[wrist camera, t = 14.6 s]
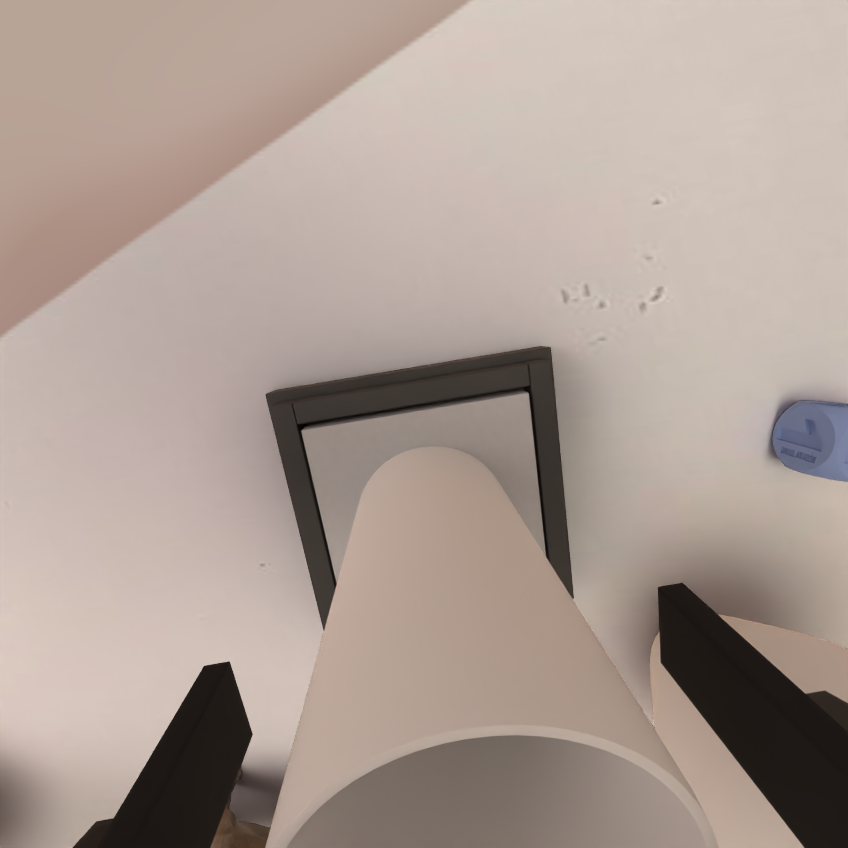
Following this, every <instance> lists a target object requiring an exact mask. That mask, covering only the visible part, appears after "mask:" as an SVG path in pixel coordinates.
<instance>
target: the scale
mask: <svg viewBox="0 0 848 848" xmlns="http://www.w3.org/2000/svg"><path fill="white" fill-rule="evenodd" d="M518 389H521V390H523V391H526V392H528V393H529V400H530V410H531V419H532V429H533V438H534V448H535V457H536V467H537V476H538V486H539V495H540V505H541V514H542V524H543V533H544V543H545V552H546V558H547V559H548V561H549V563H550V564H551V566H552V567H553V569H554V571H555V572H556V574H557V575H558V577H559V578H560V580H561V582H562V583H563V585H564V586H565V588H566V590H567V591H568V593H569V594H570V596H571V597H572V599H573V598H574V595H573V584H572V573H571V563H570V552H569V541H568V530H567V519H566V508H565V497H564V486H563V475H562V464H561V453H560V442H559V431H558V420H557V409H556V399H555V388H554V377H553V366H552V355H551V348H550V347H544V346H539V347H533V348H527V349H521V350H515V351H509V352H503V353H497V354H491V355H485V356H479V357H473V358H467V359H461V360H455V361H449V362H443V363H436V364H430V365H424V366H418V367H412V368H406V369H400V370H394V371H388V372H382V373H376V374H370V375H364V376H358V377H352V378H346V379H340V380H334V381H327V382H321V383H315V384H309V385H303V386H297V387H291V388H285V389H279V390H274V391H272V392H270V393H267V394H266V399H267V403H268V407H269V411H270V415H271V419H272V423H273V427H274V431H275V435H276V439H277V443H278V447H279V451H280V456H281V460H282V464H283V468H284V472H285V476H286V480H287V484H288V488H289V492H290V496H291V500H292V504H293V508H294V512H295V516H296V520H297V524H298V528H299V533H300V537H301V541H302V545H303V549H304V553H305V557H306V561H307V565H308V569H309V573H310V577H311V581H312V585H313V589H314V593H315V597H316V601H317V605H318V609H319V614H320V618H321V622H322V626H323V630H324V629H325V625H326V622H327V618H328V614H329V611H330V607H331V603H332V600H333V596H334V592H335V589H336V585H337V583H336V579H335V574H334V570H333V566H332V561H331V557H330V553H329V549H328V544H327V540H326V536H325V531H324V527H323V523H322V518H321V514H320V510H319V505H318V501H317V497H316V493H315V488H314V484H313V480H312V475H311V471H310V467H309V462H308V458H307V454H306V449H305V445H304V441H303V437H302V432H301V431H302V430H303V429H304V428H305V427H306V426H307V425H308V424H313V423H319V422H325V421H331V420H337V419H343V418H349V417H355V416H361V415H367V414H373V413H379V412H385V411H391V410H397V409H403V408H409V407H415V406H421V405H427V404H433V403H439V402H445V401H451V400H457V399H464V398H470V397H476V396H482V395H488V394H494V393H500V392H506V391H512V390H518Z"/></svg>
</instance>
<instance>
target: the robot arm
mask: <svg viewBox="0 0 848 848" xmlns="http://www.w3.org/2000/svg"><path fill="white" fill-rule="evenodd" d="M658 604H659V632H660V661H661V664H662V665H663V666H664V668H665V669H666V670H667V671H668V673H669V674H670V675H671V677H672V678H673V679H674V680H675V682H676V683H677V684H678V686H679V687H680V688H681V689H682V691H683V692H684V693H685V695H686V696H687V697H688V698H689V700H690V701H691V702H692V704H693V705H694V706H695V708H696V709H697V710H698V711H699V713H700V714H701V715H702V717H703V718H704V719H705V720H706V722H707V723H708V724H709V726H710V727H711V728H712V729H713V731H714V732H715V733H716V735H717V736H718V737H719V738H720V740H721V741H722V742H723V744H724V745H725V746H726V747H727V749H728V750H729V751H730V753H731V754H732V755H733V756H734V758H735V759H736V760H737V762H738V763H739V764H740V765H741V767H742V768H743V769H744V771H745V772H746V773H747V774H748V776H749V777H750V778H751V780H752V781H753V782H754V784H755V785H756V786H757V787H758V789H759V790H760V791H761V793H762V794H763V795H764V796H765V798H766V799H767V800H768V802H769V803H770V804H771V805H772V807H773V808H774V809H775V811H776V812H777V813H778V814H779V816H780V817H781V818H782V820H783V821H784V822H785V823H786V825H787V826H788V827H789V829H790V830H791V831H792V832H793V834H794V835H795V836H796V838H797V839H798V840H799V841H800V843H801V844H802V845H803V847H804V848H848V703H847V702H845V701H843V700H841V699H840V698H838V697H836V696H834V695H832V694H831V693H829V692H827V691H825V690H824V691H819V692H813V693H807V694H805V693H804V692H803V691H802V690H801V689H800V688H799V687H798V686H796V685H795V684H794V683H793V682H792V681H791V680H790V679H789V678H788V677H786V676H785V675H784V674H783V673H782V672H781V671H780V670H779V669H778V668H776V667H775V666H774V665H773V664H772V663H771V662H770V661H769V660H768V659H766V658H765V657H764V656H763V655H762V654H761V653H760V652H759V651H758V650H757V649H755V648H754V647H753V646H752V645H751V644H750V643H749V642H748V641H747V640H745V639H744V638H743V637H742V636H741V635H740V634H739V633H738V632H737V631H735V630H734V629H733V628H732V627H731V626H730V625H729V624H728V623H727V622H725V621H724V620H723V619H722V618H721V617H720V616H719V615H718V614H717V613H715V612H714V611H713V610H712V609H711V608H710V607H709V606H708V605H707V604H705V603H704V602H703V601H702V600H701V599H700V598H699V597H698V596H697V595H696V594H694V593H693V592H692V591H691V590H690V589H689V588H688V587H687V586H686V585H684V584H683V583H678V584H673V585H667V586H661V587H658ZM252 735H253V734H252V731H251V728H250V725H249V721H248V718H247V715H246V712H245V709H244V706H243V702H242V699H241V696H240V693H239V690H238V687H237V683H236V680H235V677H234V674H233V671H232V668H231V664H230V662H224V663H218V664H212V665H207V666H204V667H203V669H202V671H201V672H200V674H199V676H198V677H197V679H196V681H195V682H194V684H193V686H192V687H191V689H190V691H189V692H188V694H187V696H186V697H185V699H184V701H183V703H182V704H181V706H180V708H179V709H178V711H177V713H176V714H175V716H174V718H173V719H172V721H171V723H170V724H169V726H168V728H167V730H166V731H165V733H164V735H163V736H162V738H161V740H160V741H159V743H158V745H157V746H156V748H155V750H154V751H153V753H152V755H151V757H150V758H149V760H148V762H147V763H146V765H145V767H144V768H143V770H142V772H141V773H140V775H139V777H138V778H137V780H136V782H135V784H134V785H133V787H132V789H131V790H130V792H129V794H128V795H127V797H126V799H125V800H124V802H123V804H122V805H121V807H120V809H119V811H118V812H117V814H116V816H115V817H114V819H108V820H103V821H97V822H96V823H95V824H94V825H93V826H92V827H91V828H90V829H89V830H88V831H87V832H86V834H85V835H84V836H83V837H82V838H81V839H80V840H79V841H78V842H77V843H76V845H75V846H74V847H73V848H211V845H212V842H213V840H214V837H215V834H216V831H217V829H218V826H219V823H220V821H221V818H222V815H223V813H224V810H225V807H226V805H227V802H228V799H229V797H230V794H231V791H232V789H233V786H234V783H235V780H236V778H237V775H238V772H239V770H240V767H241V764H242V762H243V759H244V756H245V754H246V751H247V748H248V746H249V743H250V740H251V737H252Z"/></svg>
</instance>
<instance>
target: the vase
mask: <svg viewBox="0 0 848 848" xmlns="http://www.w3.org/2000/svg"><path fill="white" fill-rule="evenodd" d="M718 615H719V616H720V617H721V618H722V619H723V620H724V621H725V622H727V623H728V624H729V625H730V626H731V627H732V628H733V629H734V630H735V631H737V632H738V633H739V634H740V635H741V636H742V637H743V638H744V639H745V640H747V641H748V642H749V643H750V644H751V645H752V646H753V647H754V648H755V649H757V650H758V651H759V652H760V653H761V654H762V655H763V656H764V657H765V658H766V659H768V660H769V661H770V662H771V663H772V664H773V665H774V666H775V667H776V668H778V669H779V670H780V671H781V672H782V673H783V674H784V675H785V676H786V677H788V678H789V679H790V680H791V681H792V682H793V683H794V684H795V685H796V686H798V687H799V688H800V689H801V690H802V691H803V692H804V693H805V694H807V693H813V692H819V691H824V690H825V691H827V692H829V693H831V694H832V695H834V696H836V697H838V698H840V699H841V700H843V701H845V702H847V703H848V649H847V648H844V647H842V646H839V645H837V644H834V643H832V642H829V641H826V640H823V639H820V638H816V637H813V636H810V635H806V634H803V633H799V632H795V631H791V630H787V629H783V628H779V627H775V626H770V625H766V624H762V623H757V622H753V621H748V620H744V619H740V618H735V617H731V616H726V615H721V614H718ZM650 680H651V692H652V705H653V718H654V728H655V731H656V732H657V734H658V736H659V737H660V739H661V740H662V742H663V743H664V745H665V747H666V748H667V750H668V751H669V753H670V755H671V756H672V758H673V759H674V761H675V763H676V764H677V766H678V767H679V769H680V771H681V772H682V774H683V775H684V777H685V779H686V780H687V782H688V783H689V785H690V786H691V788H692V790H693V791H694V793H695V795H696V797H697V799H698V801H699V803H700V805H701V807H702V809H703V811H704V813H705V815H706V817H707V819H708V821H709V823H710V825H711V827H712V829H713V831H714V834H715V837H716V841H717V844H718V847H719V848H804V847H803V845H802V844H801V843H800V841H799V840H798V839H797V838H796V836H795V835H794V834H793V832H792V831H791V830H790V829H789V827H788V826H787V825H786V823H785V822H784V821H783V820H782V818H781V817H780V816H779V814H778V813H777V812H776V811H775V809H774V808H773V807H772V805H771V804H770V803H769V802H768V800H767V799H766V798H765V796H764V795H763V794H762V793H761V791H760V790H759V789H758V787H757V786H756V785H755V784H754V782H753V781H752V780H751V778H750V777H749V776H748V774H747V773H746V772H745V771H744V769H743V768H742V767H741V765H740V764H739V763H738V762H737V760H736V759H735V758H734V756H733V755H732V754H731V753H730V751H729V750H728V749H727V747H726V746H725V745H724V744H723V742H722V741H721V740H720V738H719V737H718V736H717V735H716V733H715V732H714V731H713V729H712V728H711V727H710V726H709V724H708V723H707V722H706V720H705V719H704V718H703V717H702V715H701V714H700V713H699V711H698V710H697V709H696V708H695V706H694V705H693V704H692V702H691V701H690V700H689V698H688V697H687V696H686V695H685V693H684V692H683V691H682V689H681V688H680V687H679V686H678V684H677V683H676V682H675V680H674V679H673V678H672V677H671V675H670V674H669V673H668V671H667V670H666V669H665V668H664V666H663V665H662V664H661V661H660V632H658V634H657V636H656V637H655V639H654V642H653V645H652V648H651V654H650Z"/></svg>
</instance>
